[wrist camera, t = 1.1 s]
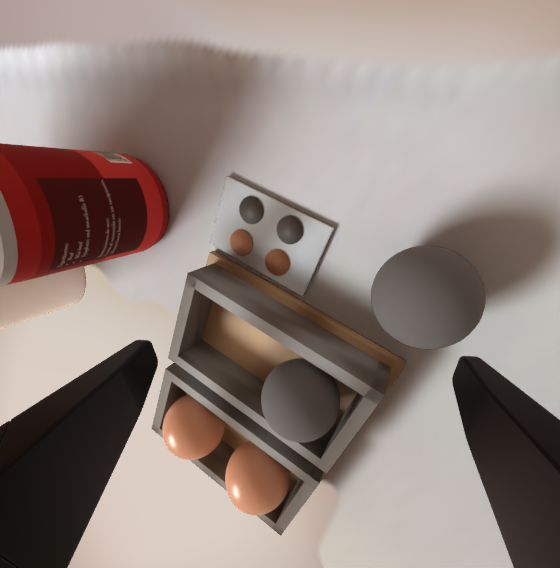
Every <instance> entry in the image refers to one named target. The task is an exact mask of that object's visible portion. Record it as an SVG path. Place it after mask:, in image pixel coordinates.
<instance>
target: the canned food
mask: <svg viewBox="0 0 560 568" xmlns="http://www.w3.org/2000/svg"><path fill="white" fill-rule="evenodd" d="M167 222H168V203H167V198H166V194H165V191H164V188H163V186H162V184H161V182H160V180H159V178H158V177H157V175H156V174H155V173H154V171H153V170H152V169H151V168H150V167H149V166H148V165H146V164H145V163H143V162H142V161H140V160H138V159H135V158H133V157H131V156H128V155H125V154H118V153H106V152H94V151H82V150H70V149H58V148H47V147H35V146H23V145H11V144H0V287H1V286H5V285H9V284H13V283H17V282H22V281H27V280H31V279H35V278H39V277H43V276H47V275H50V274H54V273H58V272H62V271H66V270H70V269H74V268H78V267H82V266H86V265H90V264H94V263H98V262H102V261H105V260H109V259H113V258H117V257H121V256H125V255H129V254H133V253H137V252H141V251H144V250H146V249H148V248H150V247H151V246H153V245H154V244H156V243H157V242H158V241H159V240H160V239H161V237H162V236H163V234H164V232H165V229H166V227H167Z"/></svg>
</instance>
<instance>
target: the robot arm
mask: <svg viewBox="0 0 560 568" xmlns="http://www.w3.org/2000/svg"><path fill="white" fill-rule="evenodd" d="M157 365H158V359H157V356H156V353H155V351H154V348H153V346H152V343H151V342H150V341H148V340H136V341H134V342H132V343H131V344H129V345H128V346H126V347H124V348H123V349H122V350H120V351H118V352H117V353H115V354H114V355H112V356H110V357H109V358H107V359H106V360H104V361H102V362H101V363H100V364H98V365H96V366H95V367H93V368H91V369H90V370H88V371H87V372H85V373H84V374H82V375H80V376H79V377H78V378H76V379H74V380H73V381H71V382H70V383H68V384H66V385H65V386H63V387H61V388H60V389H58V390H57V391H55V392H54V393H52V394H50V395H49V396H47V397H46V398H44V399H43V400H41V401H39V402H38V403H36V404H35V405H33V406H32V407H30V408H29V409H27V410H25V411H24V412H22V413H21V414H19V415H17V416H16V417H14V418H13V419H12V420H11V421H8V422H6V423H5V424H3V425H2V426H0V568H67V567H68V565H69V563H70V561H71V559H72V557H73V555H74V552H75V550H76V548H77V546H78V544H79V542H80V540H81V538H82V535H83V533H84V531H85V529H86V527H87V525H88V523H89V521H90V519H91V517H92V514H93V512H94V510H95V508H96V506H97V504H98V502H99V500H100V497H101V496H102V493H103V491H104V489H105V487H106V485H107V483H108V481H109V479H110V477H111V474H112V472H113V470H114V468H115V466H116V464H117V462H118V460H119V458H120V455H121V453H122V451H123V449H124V447H125V445H126V443H127V441H128V438H129V436H130V434H131V432H132V430H133V428H134V426H135V424H136V422H137V420H138V417H139V415H140V413H141V410H142V408H143V405H144V402H145V400H146V397H147V394H148V391H149V388H150V386H151V383H152V380H153V377H154V374H155V371H156V369H157ZM453 387H454V391H455V395H456V399H457V403H458V407H459V411H460V415H461V419H462V423H463V427H464V431H465V435H466V439H467V442H468V445H469V447H470V450H471V453H472V456H473V458H474V461H475V464H476V466H477V469H478V472H479V475H480V477H481V480H482V483H483V485H484V488H485V491H486V493H487V496H488V499H489V502H490V504H491V507H492V510H493V512H494V515H495V518H496V521H497V523H498V526H499V529H500V531H501V534H502V537H503V539H504V542H505V545H506V548H507V550H508V553H509V556H510V558H511V561H512V564H513V566H514V568H560V420H559V419H558V418H557V417H555V416H554V415H553V414H551V413H550V412H549V411H548V410H546V409H545V408H544V407H542V406H541V405H540V404H538V403H537V402H536V401H535V400H533V399H532V398H531V397H529V396H528V395H527V394H526V393H524V392H523V391H522V390H520V389H519V388H518V387H517V386H515V385H514V384H513V383H511V382H510V381H509V380H508V379H506V378H505V377H504V376H502V375H501V374H500V373H499V372H497V371H496V370H495V369H493V368H492V367H491V366H489V365H488V364H487V363H486V362H484V361H483V360H482V359H480V358H478V357H472V356H462V357H461V358H460V359H459V361H458V364H457V366H456V369H455V372H454V375H453Z"/></svg>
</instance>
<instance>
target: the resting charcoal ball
mask: <svg viewBox="0 0 560 568" xmlns="http://www.w3.org/2000/svg"><path fill="white" fill-rule="evenodd" d="M261 404H262V410H263V414H264V416H265V419H266V421H267V422H268V424H269V425H270V427H271V428H272V429H273V430H274V431H275V432H276V433H277V434H278V435H279V436H281V437H283V438H284V439H287V440H289V441H292V442H299V443H304V442H310V441H314V440H316V439H318V438H320V437H322V436H323V435H325V434H326V433H327V432H328V431H329V430H330V429H331V427H332V426H333V425H334V423H335V421H336V419H337V416H338V413H339V409H340V394H339V390H338V386H337V384H336V382H335V380H334V378H333V376H331V375H329V374H328V373H326V372H325V371H323V370H322V369H320V368H318V367H317V366H315V365H314V364H312V363H311V362H309V361H307V360H306V359H303V358H297V359H291V360H288V361H285V362H283V363H281V364H279V365H278V366H277V367H275V368H274V369H273V370H272V371H271V373H270V374H269V375H268V377H267V379H266V381H265V383H264V385H263V389H262V394H261Z"/></svg>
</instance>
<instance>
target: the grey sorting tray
mask: <svg viewBox="0 0 560 568" xmlns="http://www.w3.org/2000/svg"><path fill="white" fill-rule="evenodd" d="M333 230H334V227H332V226H330V225H328V224H325V223H323V222H321V221H319V220H317V219H315V218H313V217H311V216H309V215H307V214H305V213H303V212H301V211H299V210H297V209H295V208H293V207H291V206H289V205H287V204H285V203H283V202H281V201H279V200H276V199H274V198H272V197H270V196H268V195H266V194H264V193H262V192H260V191H258V190H256V189H254V188H252V187H250V186H248V185H246V184H244V183H242V182H240V181H238V180H236V179H234V178H232V177H229V176H227V177H226V181H225V184H224V188H223V192H222V196H221V200H220V204H219V208H218V212H217V216H216V219H215V223H214V227H213V231H212V235H211V239H210V244H212V245H214V246H215V247H217V248H219V249H220V250H222V251H224V252H226V253H227V254H229V255H231V256H233V257H234V258H236V259H238V260H240V261H241V262H243V263H245V264H247V265H248V266H250V267H252V268H254V269H255V270H257V271H259V272H261V273H262V274H264V275H266V276H268V277H269V278H271V279H273V280H275V281H276V282H278V283H280V284H282V285H283V286H285V287H287V288H289V289H290V290H292V291H294V292H295V293H297V294H299V295H301V296H303V295H304V294H305V292H306V289H307V287H308V285H309V283H310V281H311V278H312V276H313V274H314V272H315V270H316V267H317V265H318V263H319V261H320V259H321V256H322V254H323V252H324V250H325V248H326V245H327V243H328V241H329V239H330V237H331V234H332V232H333ZM168 358H169V359H170V360H172V361H173V362H174V363H173V364H172V365H170V366H169V367H168V368H166V369H165V374H164V378H163V382H162V387H161V391H160V395H159V400H158V404H157V408H156V413H155V417H154V421H153V425H152V429H153V430H154V431H155V432H156V433H158V434H159V435H160V436H161V437H162V438H163V432H162V428H163V422H164V418H165V416H166V413H167V412H168V410H169V408H170V407H171V406H172V405H173V404H174V403H175V402H176V401H177V400H178V399H180V398H181V397H183V396H186V395H188V394H189V395H190V396H192V397H193V398H194V399H196V400H197V401H198V402H200V403H201V404H202V405H204V406H205V407H206V408H208V409H209V410H210V411H211V412H213V413H214V414H215V415H217V416H218V417H219V418H221V419H222V420H223V421H225V430H224V434H223V437H222V439H221V441H220V443H219V444H218V446H217V447H216V448H215V449H214V450H213V451H212V452H211V453H209V454H208V455H206V456H204V457H202V458H200V459H195V460H190V461H192V462H193V463H194V464H195V465H196V466H197V467H199V468H200V469H201V470H202V471H204V472H205V473H206V474H207V475H208V476H210V477H211V478H212V479H213V480H215V481H216V482H217V483H218V484H219V485H220V486H222V487H223V488H224V489H225V490H227V489H226V483H225V474H226V468H227V465H228V462H229V459H230V457H231V456H232V454H233V453H234V451H235V450H236V449H237V448H238V447H239V446H240V445H242V444H243V443H245V442H247V441H249V440H250V441H251V442H253V443H254V444H255V445H256V446H258V447H259V448H260V449H262V450H263V451H264V452H266V453H267V454H268V455H270V456H271V457H272V458H274V459H275V460H276V461H278V462H279V463H280V464H282V465H283V466H284V467H286V468H287V469H288V470H290V484H289V488H288V491H287V494H286V496H285V498H284V499H283V501H282V502H281V503H280V504H279V506H278V507H276V508H275V509H274V510H272V511H271V512H269V513H266V514H263V515H257V516H258V517H259V518H260V519H261V520H263V521H264V522H265V523H266V524H268V525H269V526H270V527H271V528H272V529H274V530H275V531H276V532H277V533H278V534H280V535H281V534H282V533H283V532H284V530H285V529H286V527H287V526H288V525H289V524H290V522H291V521H292V519H293V518H294V517H295V516H296V514H297V513H298V511H299V510H300V509H301V507H302V506H303V505H304V503H305V502H306V501H307V499H308V498H309V497H310V495H311V494H312V492H313V491H314V490H315V489H316V487H317V486H318V485H319V483H320V481H321V480H322V478H323V477H324V476H325V474H327V472H328V471H329V470H330V468H331V467H332V466H333V464H334V463H335V462H336V460H337V459H338V458H339V456H340V455H341V454H342V452H343V451H344V449H345V448H346V447H347V445H348V444H349V443H350V441H351V440H352V439H353V437H354V436H355V435H356V433H357V432H358V431H359V429H360V428H361V427H362V425H363V424H364V422H365V421H366V420H367V418H368V417H369V416H370V414H371V413H372V412H373V410H374V409H375V408H376V406H377V405H378V404H379V402H380V401H381V400H382V398H383V397H384V395H385V393H386V392H387V390H388V389H389V388H390V386H391V385H392V384H393V382H394V381H395V380H396V378H397V377H398V375H399V374H400V373H401V371H402V370H403V369H404V367H405V364H406V361H404V360H403V359H401V358H399V357H397V356H396V355H394V354H392V353H391V352H389V351H387V350H385V349H384V348H382V347H380V346H378V345H377V344H375V343H373V342H372V341H370V340H368V339H366V338H365V337H363V336H361V335H359V334H358V333H356V332H354V331H353V330H351V329H349V328H347V327H346V326H344V325H342V324H340V323H339V322H337V321H335V320H334V319H332V318H330V317H328V316H327V315H325V314H323V313H321V312H320V311H318V310H316V309H314V308H313V307H311V306H309V305H308V304H306V303H304V302H302V301H301V300H299V299H297V298H295V297H294V296H292V295H290V294H289V293H287V292H285V291H283V290H282V289H280V288H278V287H276V286H275V285H273V284H271V283H270V282H268V281H266V280H264V279H263V278H261V277H259V276H257V275H256V274H254V273H252V272H251V271H249V270H247V269H245V268H244V267H242V266H240V265H238V264H237V263H235V262H233V261H231V260H230V259H228V258H226V257H225V256H223V255H221V254H219V253H218V252H216V251H212V252H210V253H209V256H208V260H207V264H206V266H205V267H203V268H200V269H198V270H195V271H192V272H190V273H188V275H187V279H186V283H185V287H184V292H183V296H182V300H181V305H180V309H179V313H178V318H177V322H176V326H175V331H174V335H173V339H172V344H171V348H170V352H169V357H168ZM297 358H303V359H306V360H307V361H309V362H311V363H312V364H314V365H315V366H317V367H318V368H320V369H322V370H323V371H325V372H326V373H328V374H329V375H331V376H333V378H334V380H335V382H336V384H337V386H338V390H339V394H340V409H339V413H338V416H337V419H336V421H335V423H334V425H333V426H332V427H331V429H330V430H329V431H328V432H327V433H326V434H325V435H323V436H322V437H320V438H318V439H316V440H314V441H310V442H304V443H299V442H292V441H289V440H287V439H284V438H283V437H281V436H279V435H278V434H277V433H276V432H275V431H274V430H273V429H272V428H271V427H270V425H269V424H268V422H267V421H266V419H265V416H264V414H263V410H262V404H261V394H262V389H263V385H264V383H265V381H266V379H267V377H268V375H269V374H270V373H271V371H272V370H273V369H274V368H275V367H277V366H278V365H279V364H281V363H283V362H285V361H288V360H291V359H297Z"/></svg>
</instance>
